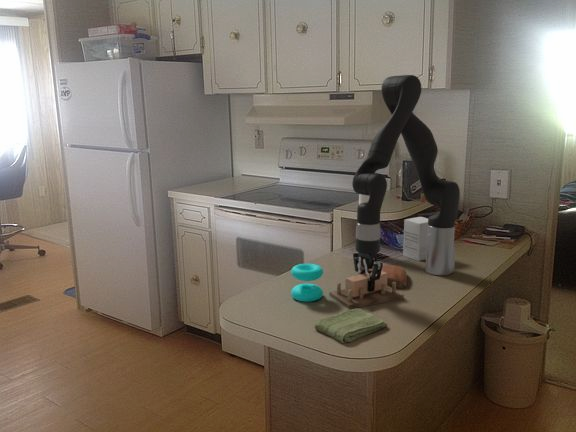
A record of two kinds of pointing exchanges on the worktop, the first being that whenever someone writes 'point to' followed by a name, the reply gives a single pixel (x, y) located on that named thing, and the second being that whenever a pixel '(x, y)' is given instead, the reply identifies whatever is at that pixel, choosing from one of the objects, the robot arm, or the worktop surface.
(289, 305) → the worktop surface
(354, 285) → the pinkish tan rectangular block
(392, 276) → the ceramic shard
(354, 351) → the worktop surface
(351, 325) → the washcloth
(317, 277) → the donuts
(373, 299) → the drying rack
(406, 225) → the supplement box
